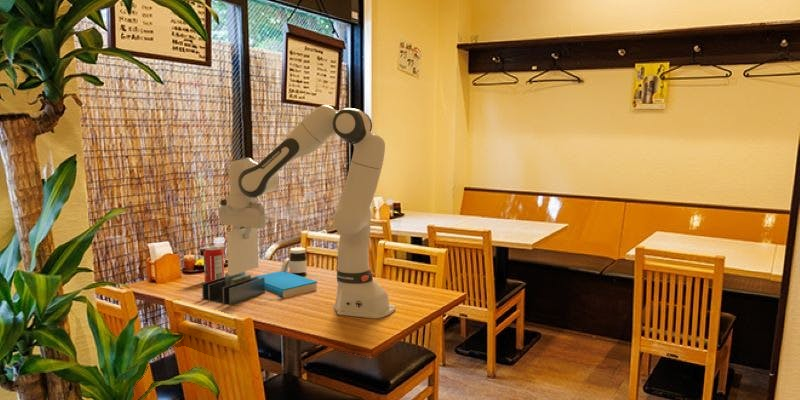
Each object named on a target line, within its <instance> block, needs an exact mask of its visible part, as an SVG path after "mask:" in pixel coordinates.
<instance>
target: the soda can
mask: <svg viewBox="0 0 800 400" xmlns="http://www.w3.org/2000/svg"><path fill="white" fill-rule="evenodd" d="M203 268H204V269H203V270H204V273H203V274H204V283H206V282H209V281H212V280H216V279H219V278H222V277H225V265H224V251H223V249H222V247H221V246H207V247H205V250H204V251H203Z"/></svg>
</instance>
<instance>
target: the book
mask: <svg viewBox="0 0 800 400" xmlns="http://www.w3.org/2000/svg"><path fill="white" fill-rule="evenodd" d="M256 276H258V279H260V278H263V277H264V280H265V290H266V291H268V292H269V291H270V292H271V293H275V294H277V295H278V297H280V298H282V299H285V298H289V297H293V296H297V295H302V294H306V293H309V292H310V293H311V292H315V291H317V289H318V285H317V284H318V281H317V280H314V279H311V278H307V277H306V276H298V275H295V274H292V273H290V271H289V272H288V271H287V272H286V271H281V270H279V271H275V272H270V273H265V274H260V275H255V276H251V278H253V277H256Z"/></svg>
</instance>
